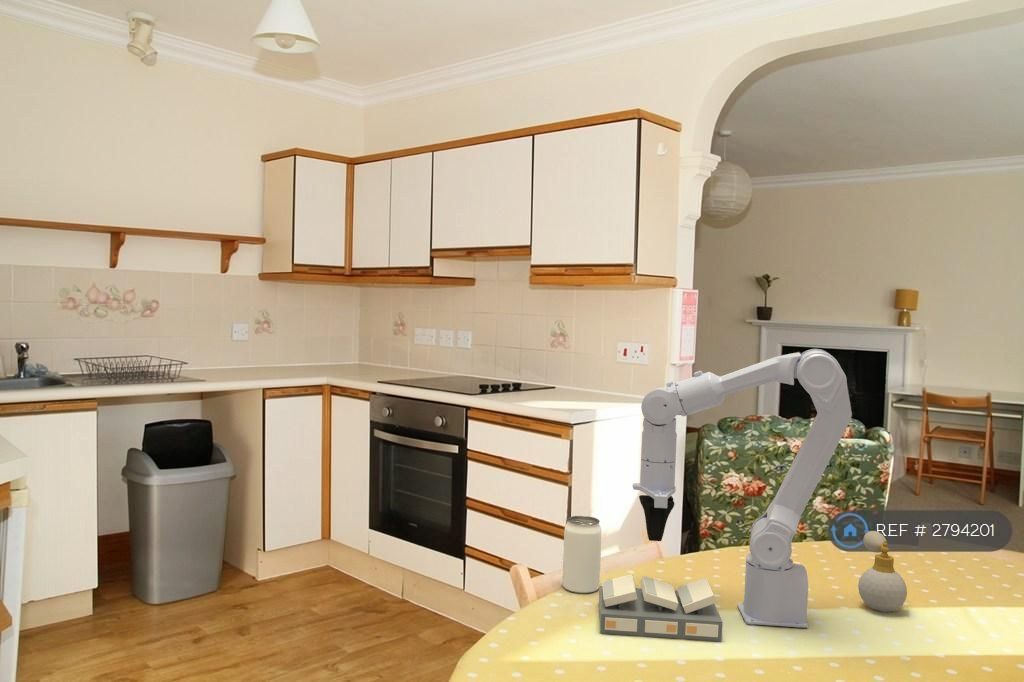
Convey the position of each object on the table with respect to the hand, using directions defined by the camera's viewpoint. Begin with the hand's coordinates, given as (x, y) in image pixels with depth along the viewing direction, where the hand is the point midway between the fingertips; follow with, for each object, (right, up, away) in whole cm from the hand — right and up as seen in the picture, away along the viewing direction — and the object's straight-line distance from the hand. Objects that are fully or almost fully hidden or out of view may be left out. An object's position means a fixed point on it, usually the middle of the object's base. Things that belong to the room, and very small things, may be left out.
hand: (654, 539), depth 136 cm
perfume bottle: (+38, -12, +1) cm, 40 cm away
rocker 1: (-7, -6, -8) cm, 12 cm away
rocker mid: (-1, -6, -9) cm, 11 cm away
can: (-12, -10, +6) cm, 17 cm away
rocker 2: (+5, -7, -9) cm, 12 cm away
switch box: (-1, -11, -8) cm, 14 cm away
